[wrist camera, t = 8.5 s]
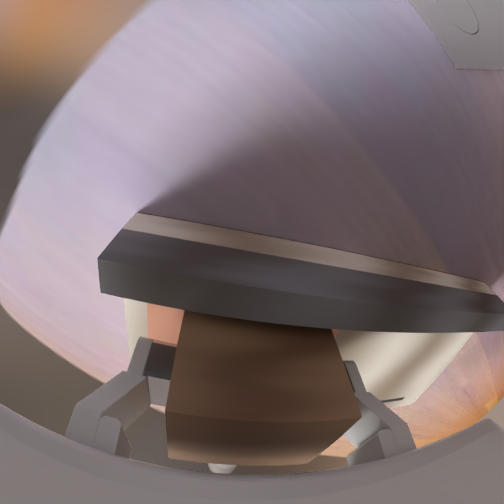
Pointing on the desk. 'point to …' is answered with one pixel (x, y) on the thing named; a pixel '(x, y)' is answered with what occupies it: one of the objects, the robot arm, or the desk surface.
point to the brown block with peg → (255, 393)
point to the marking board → (299, 297)
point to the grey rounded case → (467, 30)
